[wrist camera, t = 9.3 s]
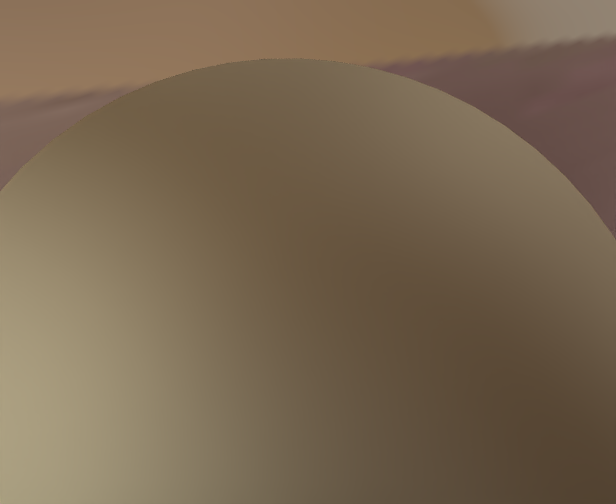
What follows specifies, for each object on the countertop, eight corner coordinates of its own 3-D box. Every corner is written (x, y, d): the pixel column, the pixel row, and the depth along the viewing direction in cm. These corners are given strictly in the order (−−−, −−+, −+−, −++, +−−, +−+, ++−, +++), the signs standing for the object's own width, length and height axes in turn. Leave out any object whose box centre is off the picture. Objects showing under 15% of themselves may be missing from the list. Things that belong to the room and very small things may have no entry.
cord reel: (318, 629, 14) (589, 1124, 3) (124, 510, 15) (-305, 492, 4) (404, 416, 17) (716, 209, 5) (237, 327, 18) (202, -13, 6)
